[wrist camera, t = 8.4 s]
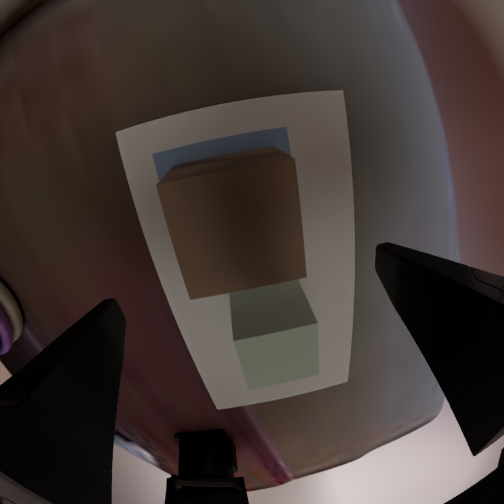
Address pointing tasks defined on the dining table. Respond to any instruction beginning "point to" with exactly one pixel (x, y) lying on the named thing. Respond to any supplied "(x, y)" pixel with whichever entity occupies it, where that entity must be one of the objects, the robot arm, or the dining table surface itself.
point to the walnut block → (235, 221)
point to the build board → (313, 221)
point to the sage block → (274, 334)
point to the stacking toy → (9, 320)
